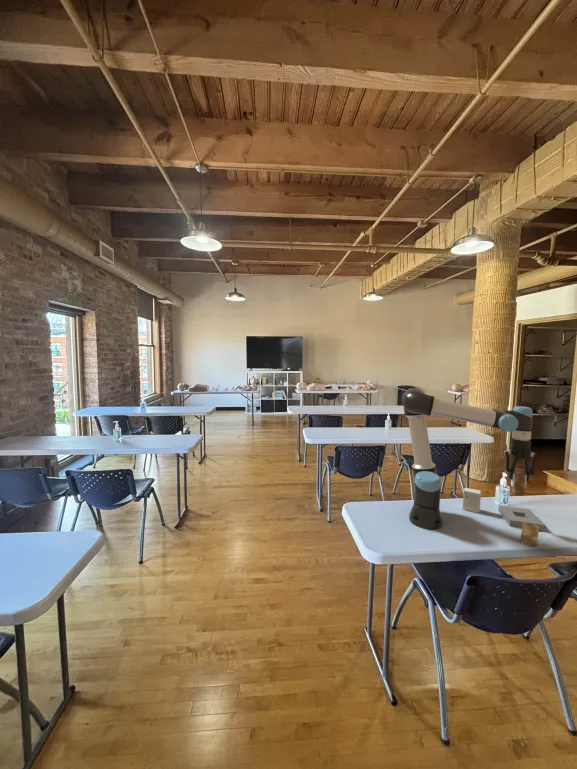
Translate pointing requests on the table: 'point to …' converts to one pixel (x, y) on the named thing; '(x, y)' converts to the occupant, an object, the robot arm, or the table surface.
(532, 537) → the light brown wooden block
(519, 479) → the square peg
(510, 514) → the socket block
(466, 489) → the small box
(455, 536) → the table surface
